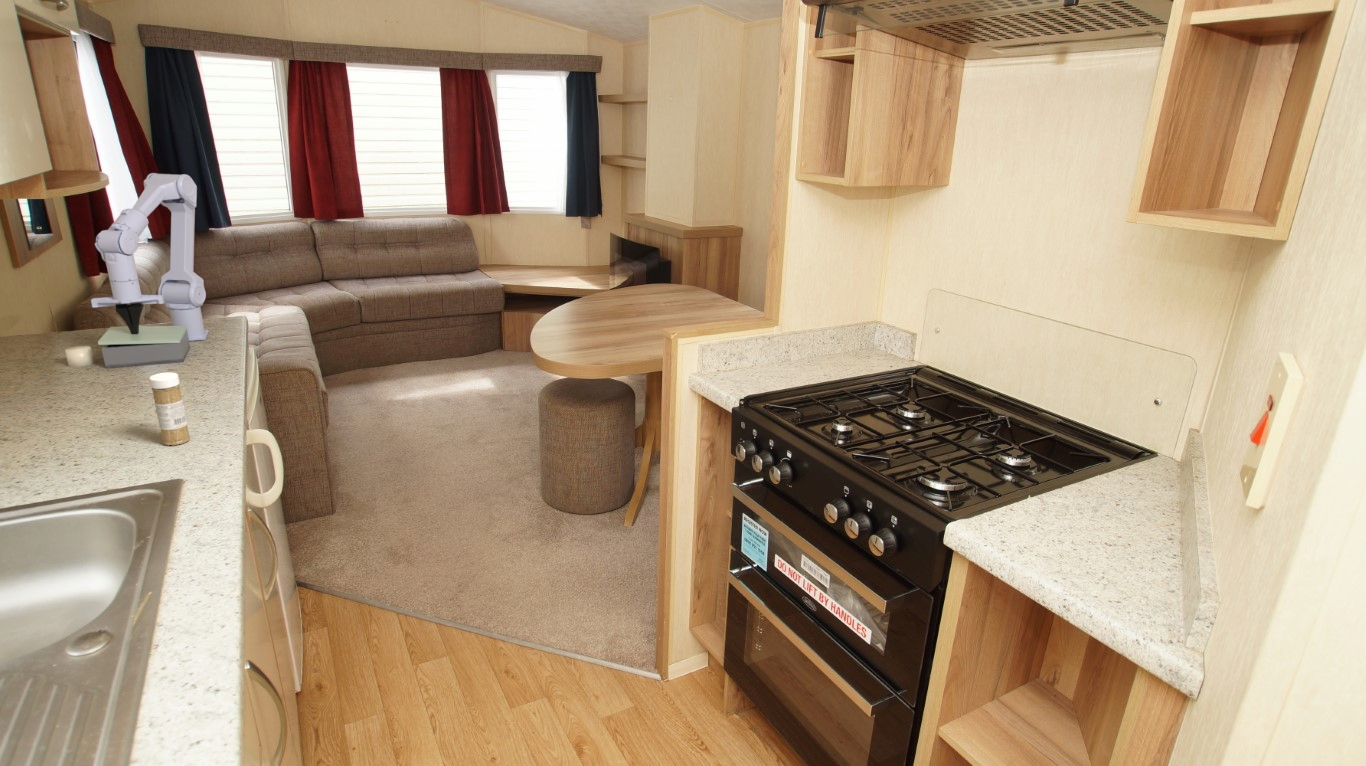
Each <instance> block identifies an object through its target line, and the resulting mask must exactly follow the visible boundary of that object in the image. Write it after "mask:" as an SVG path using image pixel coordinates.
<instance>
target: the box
mask: <svg viewBox="0 0 1366 766" xmlns="http://www.w3.org/2000/svg"><path fill="white" fill-rule="evenodd" d="M190 349H191V344H190V341H189V337H188V332H187V330H186V332H185V334H184V336H183V338H182V340H181V341H180V343H154V344H110V345H102V348H101V354H102V357H103V362H104V366H105V369H115V368H126V367H139V366H140V367H141V366H150V365H151V366H152V365H153V366H154V365H163V364H172V363H173V364H174V363H184V362H185V360H186V358H187V355H188V353H189V351H190Z"/></svg>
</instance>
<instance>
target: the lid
mask: <svg viewBox="0 0 1366 766" xmlns="http://www.w3.org/2000/svg"><path fill="white" fill-rule="evenodd" d="M186 330H187V326H172V325H149V326H147V325H145V326H141V325H139V333H138V334H131V332H130V330H129V328H128V326H127V325H126V326H110V327H109V328H108V329H107V330H106V332H105V333H104V334H103V335H102V336H101V338H99V340H98V341H97V345H100V346H101V345H102V346H104V345H110V344H154V343H180V341H181V340H182V338H183V336H184V334H185V332H186Z"/></svg>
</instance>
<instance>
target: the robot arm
mask: <svg viewBox="0 0 1366 766" xmlns="http://www.w3.org/2000/svg"><path fill="white" fill-rule="evenodd" d="M143 187H144V190H143V191H142V193H141V194H140V195H139V197H138V199H137V200H136V202H135V203H134V205H133V207H132V208H126V209H125V208H124V209H122V210H121V211H120V214H119V216H118V217H117V218H116V219H115V221H114V222H113V223H111V225H110V226H109V228H108V229H105V230H101V231H100V232H99V233H98V234H97V235H96V237H95V242H94V246H95V248H96V250H97V251H98V252H99V253H100V255H101V259H102V260H103V262H105V265H106V268H107V269H106V270H107V273H108V279H109V284H110V288H111V293H112V296H105V297H94V298H92V299H91V300H90V301H91V307H92V309H93V308H102V307H115V312H116V313H117V314H118V315H119V316H120V317H121V319H122V320H123V322H125V324H126V327H127V326H128V328H129V330H130V332H131V334H138V333H139V326H140V319H141V315H142V311H143V309H144V306H145V305H155V304H159V305H163V304H164V305H165V308H168V309H169V314H170V316H169V317H170V319H171V326H187V332H188V337H189V342H190V341H191V342H193V341H194V342H195V341H205V340H207V336H208V334H209V333H210V331H209V330H208V329H205V325H204V319H203V315H202V308H201V306H203V305H204V302H205V300H206V297H207V292H206V289H205V285H204V281H205V280H204V279H203V278H202V277H201V276H199V275H198V274H197V273H196V272H194V259H195V257H194V256H195V225H196V223H195V221H196V220H195V217H196V216H195V215H196V209H195V208H197V197H198V195H197V194H198V192H197V191H198V187H197V185H196V182H195V181H194V180H193V178H192V177H191V176H190V175H189V174H185V173H184V174H183V173H182V174H170V173H156V172H151V173H149V174H148V175H147V176H146V178H145V179H144V180H143ZM159 205H162V206H163V207H166V208H167V209H168V210H169V211H170V213H171V215H170V216H171V217H170V257H169V259H170V261H169V262H170V263H169V271H167V272H165V273H164V274H163V275H161V276H160V285H159V287H158V290H157V294H142V290H141V286H140V282H139V277H138V271H137V270H138V269H137V266H136V260H135V256H134V254H135V253H136V252H137V250H138V247H139V246H138V245H139V244H138V243H139V240H140V236H141V235H142V233H143V232H144V231H145V229H146V228H147V227H148V225H149V219H148V217H149V216H150V215H151V213H153V212H154V211H155V210H156V208H157V207H158V206H159Z"/></svg>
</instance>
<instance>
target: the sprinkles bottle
mask: <svg viewBox="0 0 1366 766" xmlns="http://www.w3.org/2000/svg"><path fill="white" fill-rule="evenodd" d="M148 381H149V385H150V389H151V391H152V395H153V399H154V406H155V411H156V416H157V421H158V427H159V429H160V433H161V438H162V441H161V442H162V444H163V445H165V446H169V445H172V446H179V444H180V445H184V444H185V443H187V441H188V442H189V441H190V440H191V436H190V434H189V429H188V422H187V417H186V411H185V406H184V401H183V398H182V394H181V393H182V392H181V388H180V377H179V374H178V373H176V372H170V371H169V372H167V371H166V372H161V373H155V374H153V375H151V376H149V378H148ZM183 443H184V444H183Z"/></svg>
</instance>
